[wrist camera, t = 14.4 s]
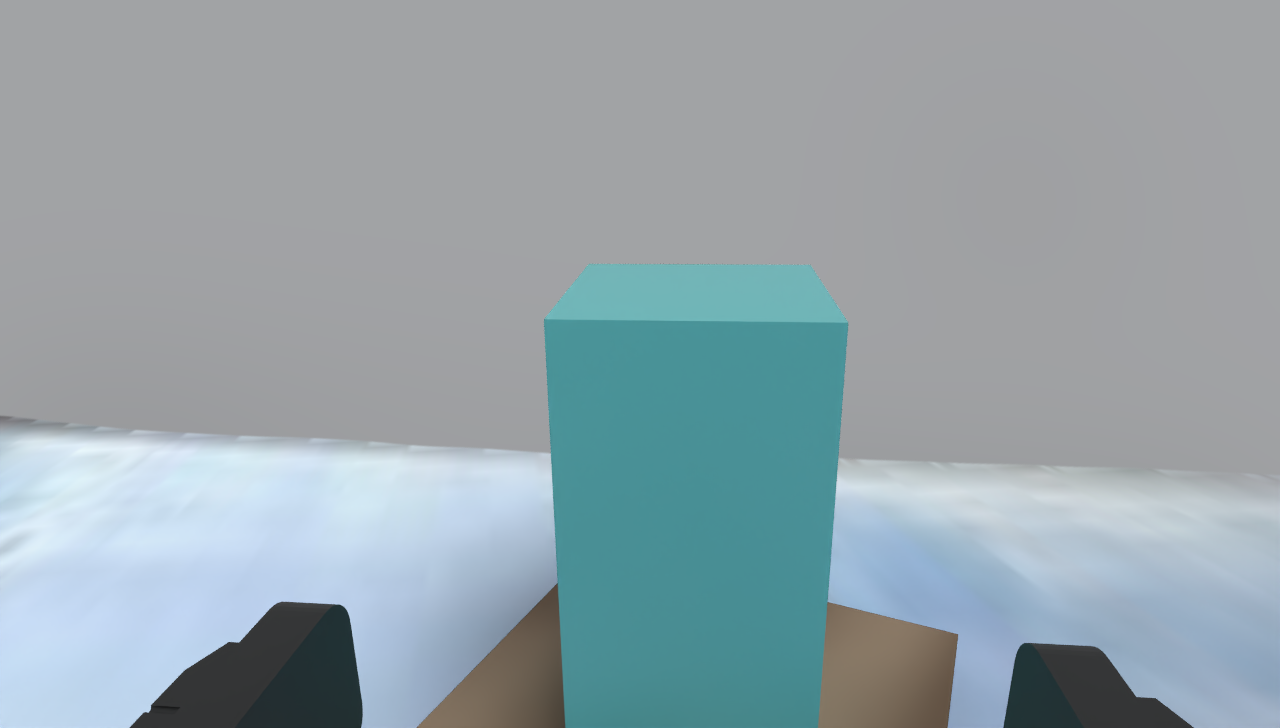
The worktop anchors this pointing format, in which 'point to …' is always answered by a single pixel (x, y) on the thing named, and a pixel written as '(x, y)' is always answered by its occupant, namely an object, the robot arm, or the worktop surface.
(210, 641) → the worktop surface
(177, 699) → the robot arm
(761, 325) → the block
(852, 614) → the base plate
